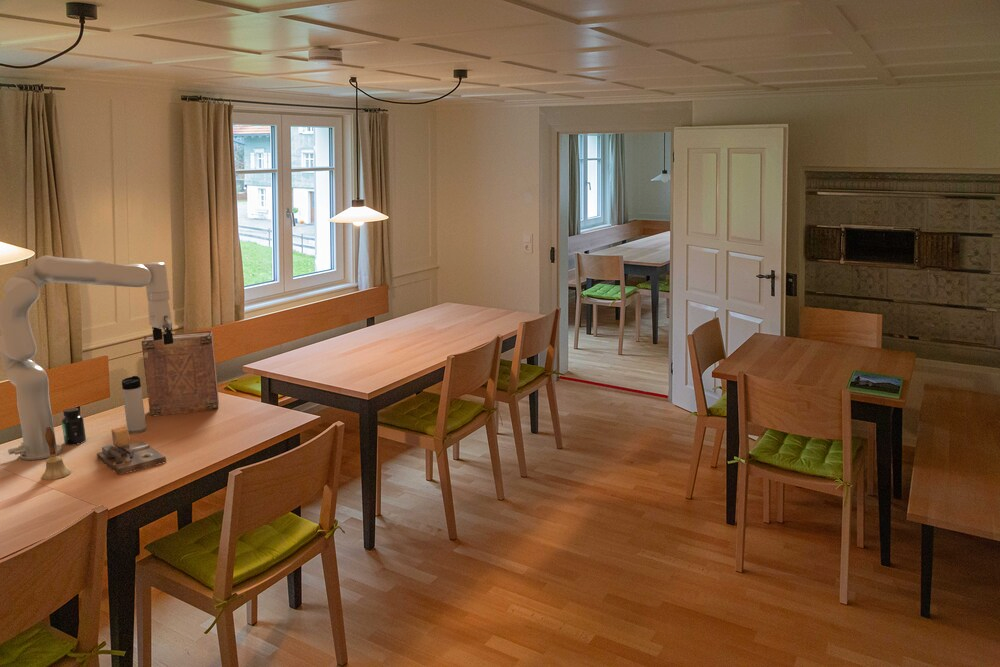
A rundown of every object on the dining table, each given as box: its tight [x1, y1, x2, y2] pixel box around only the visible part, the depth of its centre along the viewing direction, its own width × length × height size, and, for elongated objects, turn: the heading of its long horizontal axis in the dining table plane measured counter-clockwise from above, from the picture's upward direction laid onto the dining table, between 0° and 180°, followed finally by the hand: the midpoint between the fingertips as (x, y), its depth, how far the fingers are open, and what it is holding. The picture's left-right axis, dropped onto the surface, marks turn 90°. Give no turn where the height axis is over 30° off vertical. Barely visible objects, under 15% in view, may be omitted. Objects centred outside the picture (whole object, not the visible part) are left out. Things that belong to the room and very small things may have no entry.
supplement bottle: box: [61, 407, 87, 445], centre depth 288 cm, size 7×7×12 cm
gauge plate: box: [96, 441, 167, 476], centre depth 271 cm, size 15×20×5 cm
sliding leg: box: [111, 426, 134, 459], centre depth 269 cm, size 4×12×8 cm, turn 43°
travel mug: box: [121, 375, 147, 434], centre depth 298 cm, size 6×7×20 cm
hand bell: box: [41, 427, 72, 481], centre depth 259 cm, size 8×8×16 cm
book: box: [141, 330, 220, 417], centre depth 321 cm, size 25×9×30 cm, turn 107°
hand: (163, 341), depth 302 cm, fingers open, 9 cm apart
